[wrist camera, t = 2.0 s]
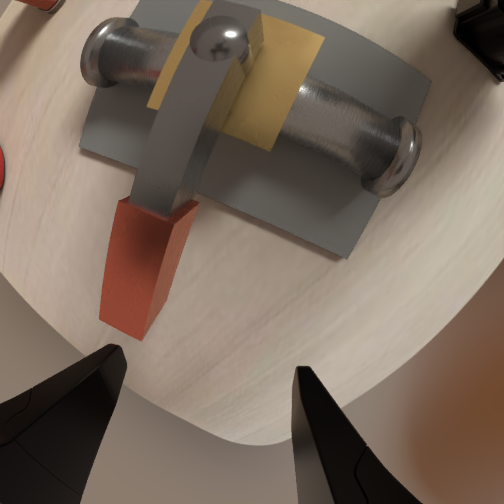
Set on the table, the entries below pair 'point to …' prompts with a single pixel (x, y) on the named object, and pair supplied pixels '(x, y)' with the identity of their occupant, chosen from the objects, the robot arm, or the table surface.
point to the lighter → (45, 4)
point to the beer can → (1, 167)
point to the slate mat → (284, 150)
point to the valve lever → (176, 166)
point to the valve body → (266, 96)
